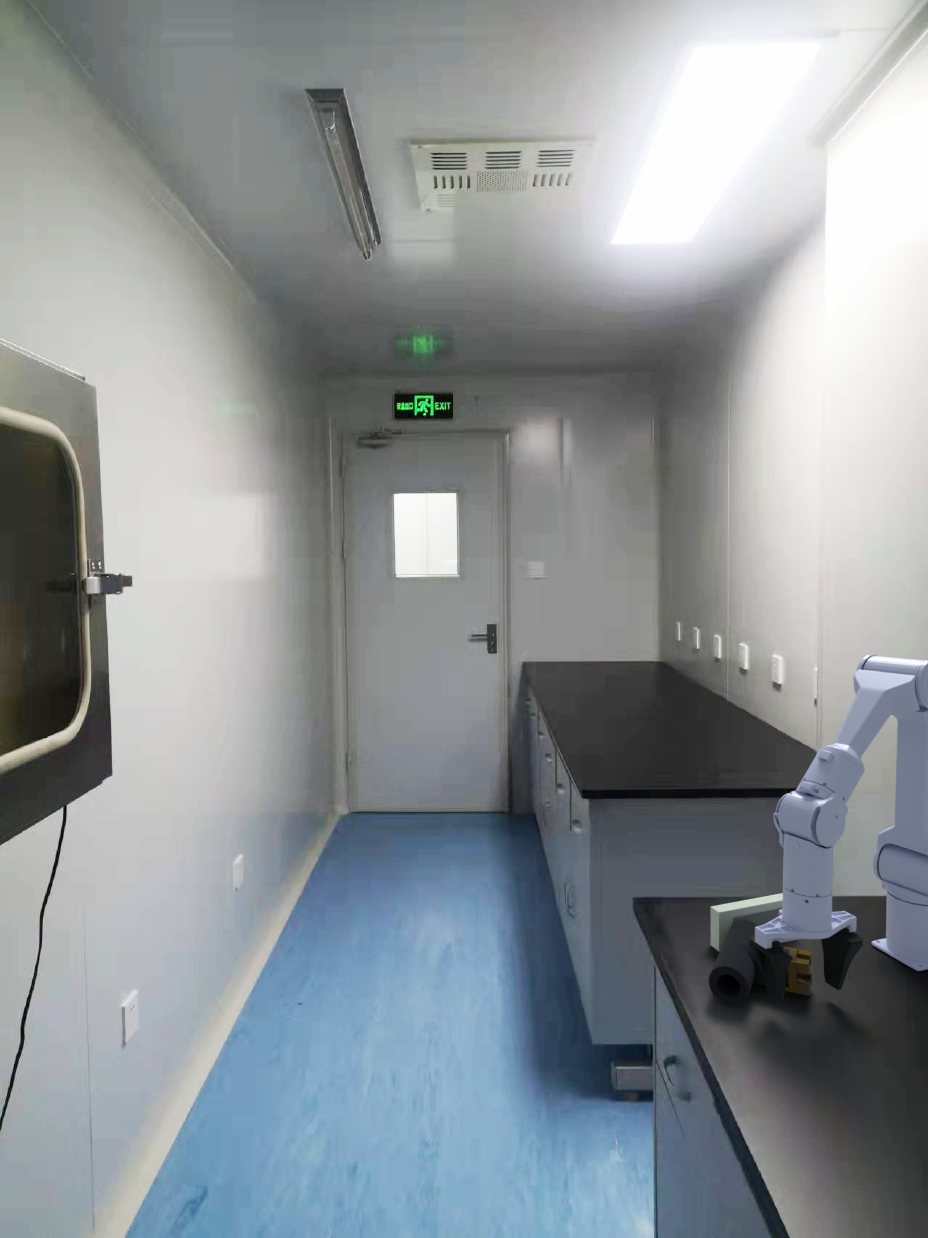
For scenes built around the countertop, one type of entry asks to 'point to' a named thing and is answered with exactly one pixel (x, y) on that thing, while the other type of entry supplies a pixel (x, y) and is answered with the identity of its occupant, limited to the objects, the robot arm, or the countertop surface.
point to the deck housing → (742, 915)
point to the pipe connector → (752, 967)
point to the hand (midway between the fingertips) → (804, 992)
